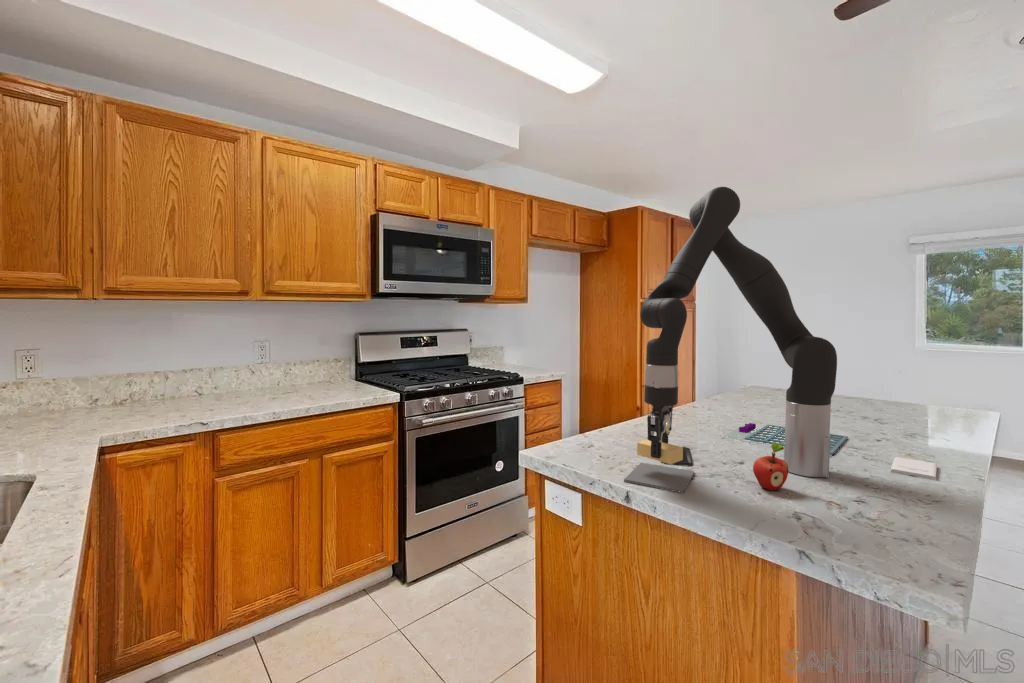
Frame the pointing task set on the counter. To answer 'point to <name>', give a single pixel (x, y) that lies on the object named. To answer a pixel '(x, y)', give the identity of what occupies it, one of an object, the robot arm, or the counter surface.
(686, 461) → the phone
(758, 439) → the calendar
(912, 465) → the external hard drive
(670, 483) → the mat
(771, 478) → the apple
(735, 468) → the counter surface
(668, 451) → the card box
